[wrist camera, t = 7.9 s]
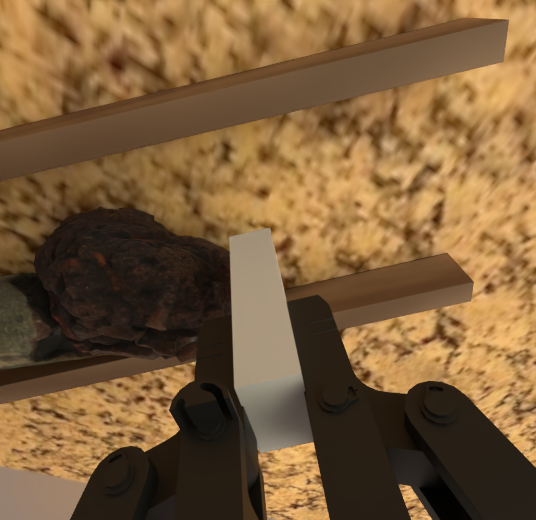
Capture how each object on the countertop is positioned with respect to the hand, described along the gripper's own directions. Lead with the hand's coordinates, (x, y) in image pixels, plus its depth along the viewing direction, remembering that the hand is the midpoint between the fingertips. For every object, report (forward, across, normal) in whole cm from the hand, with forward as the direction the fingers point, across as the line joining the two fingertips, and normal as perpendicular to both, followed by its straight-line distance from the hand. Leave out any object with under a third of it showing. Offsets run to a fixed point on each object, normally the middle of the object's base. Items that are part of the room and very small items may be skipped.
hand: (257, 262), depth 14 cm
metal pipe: (+4, -9, -1) cm, 10 cm away
